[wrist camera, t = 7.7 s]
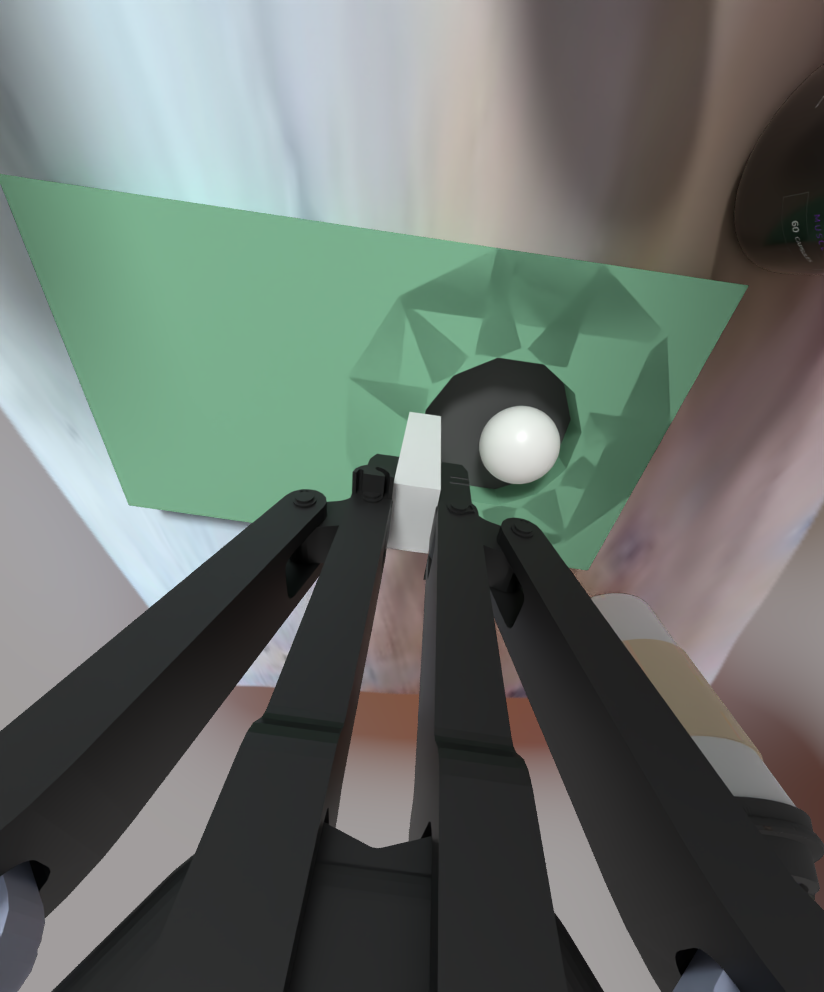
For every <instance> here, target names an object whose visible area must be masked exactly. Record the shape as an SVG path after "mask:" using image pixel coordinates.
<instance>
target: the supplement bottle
mask: <svg viewBox="0 0 824 992" xmlns="http://www.w3.org/2000/svg"><path fill="white" fill-rule="evenodd" d="M734 221H735V230H736V235H737V239H738V242H739V244H740V246H741V248H742V250H743V252H744V253H745V255H746V256H747V257H748V258H749V259H750V260H751V261H752V262H753V263H755V264H756V265H758V266H759V267H761V268H763V269H766V270H768V271H772V272H776V273H783V274H797V275H824V64H823V65H821V66H820V67H819V68H818V69H817V70H816V71H815V72H813V73H812V74H811V75H810V76H809V77H808V78H807V79H806V80H805V81H804V82H803V83H802V84H801V85H800V86H799V87H798V88H797V89H796V90H795V91H794V92H793V93H792V94H791V96H790V97H789V98H788V99H787V100H786V101H785V103H784V104H783V105H782V106H781V108H780V109H779V110H778V111H777V113H776V114H775V115H774V117H773V118H772V120H771V121H770V123H769V124H768V125H767V127H766V128H765V130H764V132H763V133H762V135H761V137H760V138H759V140H758V142H757V143H756V145H755V147H754V149H753V151H752V153H751V155H750V157H749V159H748V162H747V164H746V166H745V169H744V171H743V174H742V177H741V180H740V184H739V187H738V191H737V196H736V202H735V212H734Z"/></svg>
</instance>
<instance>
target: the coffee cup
mask: <svg viewBox="0 0 824 992" xmlns="http://www.w3.org/2000/svg"><path fill="white" fill-rule="evenodd" d="M591 599H592V601H593V602H594V604H595V605H596V606H597V608H598V609H599V611H600V612H601V613H602V615H603V616H604V617H605V619H606V620H607V622H608V623H609V624H610V626H611V627H612V628H613V630H614V631H615V633H616V634H617V635H618V637H619V638H620V640H621V641H622V642H623V644H624V645H625V646H626V648H627V649H628V651H629V652H630V653H631V655H632V656H633V657H634V659H635V660H636V662H637V663H638V664H639V666H640V667H641V669H642V670H643V671H644V673H645V674H646V675H647V677H648V678H649V680H650V681H651V682H652V684H653V685H654V686H655V688H656V689H657V691H658V692H659V693H660V695H661V696H662V698H663V699H664V700H665V702H666V703H667V704H668V706H669V707H670V709H671V710H672V711H673V713H674V714H675V715H676V717H677V718H678V720H679V721H680V722H681V724H682V725H683V727H684V728H685V729H686V731H687V732H688V733H689V735H690V736H691V738H692V739H693V740H694V742H695V743H696V744H697V746H698V747H699V749H700V750H701V751H702V753H703V754H704V755H705V757H706V758H707V760H708V761H709V762H710V764H711V765H712V767H713V768H714V769H715V771H716V772H717V773H718V775H719V776H720V778H721V779H722V780H723V782H724V783H725V784H726V786H727V787H728V789H729V790H730V791H731V793H732V794H733V796H734V797H735V798H736V800H737V801H738V802H739V804H740V805H741V807H742V808H743V809H744V811H745V812H746V813H747V815H748V816H749V818H750V819H751V820H752V822H753V823H754V825H755V826H756V827H757V829H758V830H759V831H760V833H761V834H762V836H763V837H764V838H765V840H766V841H767V842H768V844H769V845H770V847H771V848H772V849H773V851H774V852H775V854H776V855H777V856H778V858H779V859H780V860H781V862H782V863H783V865H784V866H785V867H786V869H787V870H788V871H789V873H790V874H791V876H792V877H793V878H794V880H795V881H796V882H797V883H798V884H799V885H800V886H801V887H802V888H803V889H804V890H805V891H806V892H807V894H808V895H809V896H810V897H811V898H812V899H813V900H815V893H817V892H818V891H819V889H820V888H819V883H818V879H817V874H816V870H815V865H814V863H815V862H816V861H818V860H819V859H820V858H821V857H822V856H823V855H824V844H823V842H822V841H821V839H820V838H819V837H818V836H817V835H816V834H815V833H814V832H813V829H812V824H811V819H810V817H809V816H808V815H807V814H806V813H805V812H804V811H802V810H801V809H798V808H797V807H796V806H795V805H794V804H793V802H792V801H791V800H790V798H789V797H788V795H787V794H786V793H785V791H784V790H783V789H782V788H781V786H780V785H779V783H778V782H777V780H776V779H775V778H774V776H773V775H772V774H771V772H770V771H769V770H768V768H767V767H766V765H765V764H764V763H763V758H762V756H761V754H760V752H759V751H758V750H757V748H756V747H755V745H754V744H753V743H752V741H751V740H750V739H749V737H748V736H747V735H746V733H745V732H744V731H743V729H742V728H741V727H740V725H739V724H738V723H737V721H736V720H735V719H734V717H733V716H732V715H731V713H730V712H729V711H728V709H727V708H726V706H725V705H724V704H723V702H722V701H721V700H720V698H719V697H718V696H717V694H716V693H715V692H714V690H713V689H712V688H711V686H710V685H709V684H708V682H707V681H706V680H705V678H704V677H703V675H702V674H701V673H700V671H699V670H698V669H697V667H696V666H695V665H694V663H693V662H692V661H691V659H690V658H689V657H688V655H687V654H686V653H685V652H684V651H683V650H682V649H681V648H680V647H679V646H678V645H677V644H676V642H675V641H674V640H673V638H672V637H671V636H670V634H669V633H668V631H667V630H666V629H665V627H664V626H663V625H662V623H661V622H660V621H659V619H658V618H657V616H656V615H655V614H654V612H653V611H652V610H651V608H650V607H649V606H648V604H647V603H646V602H645V601H643V600H642V599H640V598H638V597H636V596H633V595H629V594H622V593H610V594H603V595H598V596H594V597H591Z"/></svg>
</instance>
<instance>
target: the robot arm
mask: <svg viewBox="0 0 824 992" xmlns="http://www.w3.org/2000/svg"><path fill="white" fill-rule="evenodd" d="M386 548H391V549H398V550H405V551H412V552H419V553H426V554H428V551H429V555H428V559H427V564H426V569H425V574H424V580H426V584H425V602H424V621H423V639H422V657H421V675H420V693H419V712H418V731H417V749H416V766H415V785H414V798H413V805H412V813H411V820H410V829H409V842H405V843H400V844H396V845H392V846H388V847H383V848H372V847H370V846H368V845H366V844H364V843H362V842H360V841H359V840H357V839H355V838H353V837H351V836H349V835H347V834H345V833H344V832H342V831H340V830H338V829H336V828H335V827H336V822H337V815H338V809H339V803H340V796H341V789H342V783H343V778H344V772H345V767H346V762H347V756H348V751H349V746H350V740H351V736H352V730H353V725H354V719H355V715H356V709H357V704H358V699H359V693H360V688H361V683H362V678H363V673H364V667H365V662H366V657H367V652H368V646H369V641H370V636H371V631H372V626H373V620H374V615H375V610H376V605H377V599H378V594H379V589H380V584H381V578H382V573H383V568H384V563H385V557H386ZM318 577H319V578H318ZM317 578H318V580H317ZM316 580H317V583H316V586H315V588H314V591H313V593H312V596H311V598H310V601H309V603H308V606H307V608H306V611H305V613H304V616H303V618H302V621H301V623H300V626H299V629H298V631H297V634H296V636H295V639H294V641H293V644H292V646H291V649H290V651H289V654H288V656H287V659H286V661H285V664H284V666H283V669H282V671H281V674H280V677H279V679H278V682H277V684H276V687H275V689H274V692H273V695H272V697H271V699H270V702H269V704H268V707H267V709H266V711H265V713H264V714H263V716H262V717H261V718H260V719H258V720H257V721H255V722H254V723H253V724H252V725H251V727H250V728H249V730H248V732H247V733H246V735H245V737H244V739H243V742H242V743H241V746H240V748H239V751H238V752H237V755H236V758H235V760H234V762H233V764H232V767H231V769H230V771H229V774H228V776H227V779H226V781H225V783H224V786H223V788H222V791H221V793H220V795H219V798H218V800H217V802H216V805H215V807H214V810H213V812H212V814H211V817H210V819H209V821H208V824H207V826H206V829H205V831H204V833H203V836H202V838H201V841H200V843H199V845H198V848H197V850H196V853H195V854H194V855H193V856H191V857H190V858H189V859H188V860H187V861H185V862H184V863H183V864H182V865H181V866H179V867H178V868H177V869H176V870H174V871H173V872H172V873H171V874H170V875H169V876H168V877H167V878H166V879H165V880H164V881H163V882H162V883H161V884H160V885H159V886H158V887H157V888H156V889H155V890H154V891H153V892H152V893H151V894H150V895H149V896H148V897H147V898H146V899H145V900H144V901H143V902H142V903H141V904H140V905H139V906H138V907H137V908H136V909H135V910H133V912H131V914H129V915H128V917H127V918H125V919H124V921H122V922H121V923H120V924H119V925H118V926H117V927H116V928H115V929H114V930H113V931H112V932H111V933H110V934H109V935H108V936H107V937H106V938H105V939H104V940H103V941H102V942H101V943H100V944H99V945H98V946H97V947H96V948H95V949H94V950H93V951H92V952H91V953H90V954H89V955H88V956H87V957H86V958H85V959H84V960H83V961H82V962H81V963H80V964H79V965H78V966H77V967H76V968H75V969H74V970H73V971H72V972H71V973H70V974H69V975H68V976H67V977H66V978H65V979H64V980H63V981H62V982H61V983H60V984H59V985H58V986H57V987H56V988H55V989H53V991H52V992H604V991H603V989H602V988H601V986H600V984H599V983H598V981H597V980H596V978H595V976H594V975H593V973H592V971H591V970H590V968H589V966H588V965H587V963H586V961H585V960H584V958H583V956H582V955H581V953H580V951H579V950H578V948H577V946H576V945H575V943H574V941H573V940H572V938H571V936H570V935H569V933H568V932H567V930H566V928H565V927H564V925H563V924H562V922H561V921H560V919H559V918H558V917H557V916H556V914H555V913H554V910H553V904H552V899H551V892H550V887H549V881H548V875H547V869H546V863H545V858H544V852H543V847H542V841H541V834H540V829H539V823H538V817H537V811H536V806H535V800H534V794H533V788H532V784H531V779H530V776H529V771H528V768H527V766H526V764H525V761H524V759H523V758H522V757H521V756H520V755H518V754H517V753H516V751H515V749H514V747H513V742H512V738H511V731H510V724H509V718H508V711H507V704H506V697H505V690H504V683H503V676H502V670H501V663H500V656H499V649H498V642H497V636H496V629H495V622H494V618H495V621H496V623H497V625H498V628H499V630H500V633H501V635H502V637H503V640H504V642H505V645H506V647H507V649H508V652H509V654H510V656H511V659H512V661H513V664H514V666H515V668H516V671H517V673H518V676H519V678H520V680H521V683H522V685H523V687H524V690H525V692H526V695H527V697H528V699H529V702H530V704H531V706H532V709H533V711H534V713H535V716H536V718H537V721H538V723H539V725H540V728H541V730H542V732H543V735H544V737H545V740H546V742H547V745H548V747H549V749H550V752H551V754H552V756H553V759H554V761H555V764H556V766H557V768H558V770H559V773H560V775H561V778H562V780H563V783H564V785H565V787H566V790H567V792H568V795H569V797H570V799H571V801H572V804H573V806H574V809H575V811H576V814H577V816H578V818H579V821H580V823H581V826H582V828H583V830H584V833H585V835H586V837H587V839H588V842H589V844H590V847H591V849H592V852H593V854H594V856H595V859H596V861H597V864H598V866H599V868H600V871H601V873H602V876H603V878H604V880H605V883H606V885H607V887H608V889H609V892H610V894H611V896H612V898H613V900H614V902H615V905H616V907H617V909H618V911H619V913H620V916H621V918H622V920H623V922H624V924H625V926H626V929H627V930H628V932H629V934H630V936H631V938H632V940H633V942H634V944H635V946H636V947H637V949H638V951H639V953H640V954H641V957H642V959H643V961H644V962H645V964H646V966H647V968H648V970H649V972H650V973H651V975H652V977H653V979H654V980H655V982H656V984H657V985H658V987H659V989H660V990H661V992H824V910H823V909H822V908H821V907H820V906H819V905H818V904H817V903H816V902H815V901H814V900H813V899H812V898H811V897H810V896H809V895H808V894H807V892H806V891H805V890H804V889H803V888H802V887H801V886H800V885H799V884H798V883H797V882H796V881H795V880H794V878H793V877H792V876H791V874H790V873H789V871H788V870H787V869H786V867H785V866H784V865H783V863H782V862H781V860H780V859H779V858H778V856H777V855H776V854H775V852H774V851H773V849H772V848H771V847H770V845H769V844H768V842H767V841H766V840H765V838H764V837H763V836H762V834H761V833H760V831H759V830H758V829H757V827H756V826H755V825H754V823H753V822H752V820H751V819H750V818H749V816H748V815H747V813H746V812H745V811H744V809H743V808H742V807H741V805H740V804H739V802H738V801H737V800H736V798H735V797H734V796H733V794H732V793H731V791H730V790H729V789H728V787H727V786H726V784H725V783H724V782H723V780H722V779H721V778H720V776H719V775H718V773H717V772H716V771H715V769H714V768H713V767H712V765H711V764H710V762H709V761H708V760H707V758H706V757H705V755H704V754H703V753H702V751H701V750H700V749H699V747H698V746H697V744H696V743H695V742H694V740H693V739H692V738H691V736H690V735H689V733H688V732H687V731H686V729H685V728H684V727H683V725H682V724H681V722H680V721H679V720H678V718H677V717H676V715H675V714H674V713H673V711H672V710H671V709H670V707H669V706H668V704H667V703H666V702H665V700H664V699H663V698H662V696H661V695H660V693H659V692H658V691H657V689H656V688H655V686H654V685H653V684H652V682H651V681H650V680H649V678H648V677H647V675H646V674H645V673H644V671H643V670H642V669H641V667H640V666H639V664H638V663H637V662H636V660H635V659H634V657H633V656H632V655H631V653H630V652H629V651H628V649H627V648H626V646H625V645H624V644H623V642H622V641H621V640H620V638H619V637H618V635H617V634H616V633H615V631H614V630H613V628H612V627H611V626H610V624H609V623H608V622H607V620H606V619H605V617H604V616H603V615H602V613H601V612H600V611H599V609H598V608H597V606H596V605H595V604H594V602H593V601H592V599H591V598H590V597H589V595H588V594H587V593H586V591H585V590H584V588H583V587H582V586H581V584H580V583H579V582H578V580H577V579H576V577H575V576H574V575H573V573H572V572H571V570H570V569H569V568H568V566H567V565H566V564H565V562H564V561H563V559H562V558H561V557H560V555H559V554H558V553H557V551H556V550H555V548H554V547H553V546H552V544H551V543H550V541H549V540H548V539H547V537H546V536H545V535H544V533H543V532H542V530H541V529H540V528H539V527H538V526H537V525H535V524H533V523H532V522H530V521H528V520H525V519H522V518H514V517H513V518H507V519H505V520H504V521H502V524H501V526H500V525H498V524H495V523H492V522H489V521H487V520H485V519H483V518H482V517H480V516H479V513H478V510H477V508H476V506H475V505H473V504H472V500H471V492H470V486H469V477H468V471H467V470H466V469H465V468H464V467H463V465H459V464H452V463H446V462H441V416H436V415H429V414H422V413H415V412H409V417H408V421H407V426H406V430H405V434H404V439H403V443H402V448H401V452H400V457H397V456H391V455H384V454H376V455H374V456H373V457H372V458H370V460H369V462H368V465H363V466H360V467H357V468H356V469H355V470H354V471H353V472H352V494H351V497H350V498H348V499H345V500H341V501H329V502H327V501H326V497H325V496H324V494H323V493H321V492H319V491H316V490H311V489H300V490H296V491H292V492H290V493H289V494H287V495H286V496H284V497H283V498H282V499H281V500H279V501H278V502H277V503H276V504H275V505H273V506H272V507H271V508H270V509H269V510H267V511H266V512H265V513H264V514H263V515H261V516H260V517H259V518H258V519H256V520H255V521H254V522H253V523H252V524H250V525H249V526H248V527H247V528H246V529H244V530H243V531H242V532H241V533H240V534H238V535H237V536H236V537H235V538H234V539H232V540H231V541H230V542H229V543H227V544H226V545H225V546H224V547H223V548H221V549H220V550H219V551H218V552H217V553H215V554H214V555H213V556H212V557H211V558H209V559H208V560H207V561H206V562H204V563H203V564H202V565H201V566H200V567H198V568H197V569H196V570H195V571H194V572H192V573H191V574H190V575H189V576H188V577H186V578H185V579H184V580H183V581H182V582H180V583H179V584H178V585H177V586H175V587H174V588H173V589H172V590H171V591H169V592H168V593H167V594H166V595H165V596H163V597H162V598H161V599H160V600H159V601H157V602H156V603H155V604H154V605H152V606H151V607H150V608H149V609H148V610H147V611H145V612H144V613H143V614H142V615H140V616H139V617H138V618H137V619H136V620H134V621H133V622H132V623H131V624H130V625H128V626H127V627H126V628H125V629H123V630H122V631H121V632H120V633H119V634H117V635H116V636H115V637H114V638H113V639H111V640H110V641H109V642H108V643H107V644H105V645H104V646H103V647H102V648H100V649H99V650H98V651H97V652H96V653H94V654H93V655H92V656H91V657H90V658H88V659H87V660H86V661H85V662H84V663H82V664H81V665H80V666H79V667H77V668H76V669H75V670H74V671H73V672H71V673H70V674H69V675H68V676H67V677H65V678H64V679H63V680H62V681H61V682H59V683H58V684H57V685H56V686H55V687H53V688H52V689H51V690H50V691H48V692H47V693H46V694H45V695H44V696H42V697H41V698H40V699H39V700H38V701H36V702H35V703H34V704H33V705H32V706H30V707H29V708H28V709H27V710H25V712H23V713H22V714H21V715H19V716H18V717H17V718H16V719H15V720H13V721H12V722H11V723H10V724H9V725H7V726H6V727H5V728H4V729H3V730H1V731H0V992H17V991H18V990H19V989H20V988H21V986H22V985H23V983H24V981H25V980H26V978H27V977H28V976H29V974H30V972H31V971H32V968H33V965H34V963H35V960H36V957H37V950H38V948H39V945H40V943H41V939H42V934H43V929H44V924H45V918H46V917H47V916H48V915H49V914H50V913H51V912H52V911H53V910H54V909H55V908H56V907H57V906H58V905H59V904H60V903H61V902H62V901H63V900H64V899H66V897H67V896H68V895H69V894H70V893H71V892H72V891H73V890H74V889H75V887H77V886H78V884H79V883H80V882H81V881H82V880H83V879H84V878H85V877H86V876H87V875H88V874H89V873H90V871H91V870H92V869H93V868H94V867H95V866H96V865H97V864H98V863H99V862H100V861H101V859H102V858H103V857H104V856H105V855H106V853H107V852H108V851H109V850H110V849H111V847H112V846H113V845H114V844H115V842H116V841H117V840H118V839H119V838H120V836H121V835H122V834H123V833H124V831H125V830H126V829H127V827H129V825H130V824H131V823H132V822H133V820H134V819H135V818H136V816H137V815H138V814H139V812H140V811H141V810H142V808H143V807H144V806H145V805H146V803H147V802H148V800H149V799H150V798H151V797H152V795H153V794H154V793H155V791H156V790H157V788H158V787H159V786H160V785H161V783H162V782H163V781H164V780H165V778H166V777H167V776H168V774H169V773H170V772H171V770H172V769H173V768H174V766H175V765H176V764H177V762H178V761H179V760H180V758H181V757H182V756H183V754H184V753H185V752H186V751H187V749H188V748H189V747H190V745H191V744H192V743H193V741H194V740H195V739H196V737H197V736H198V735H199V733H200V732H201V731H202V730H203V728H204V727H205V725H206V724H207V723H208V722H209V720H210V719H211V718H212V716H213V715H214V714H215V712H216V711H217V710H218V708H219V707H220V706H221V705H222V703H223V702H224V700H225V699H226V698H227V697H228V695H229V694H230V693H231V691H232V690H233V689H234V687H235V686H236V685H237V683H238V682H239V681H240V680H241V678H242V677H243V676H244V674H245V673H246V672H247V670H248V669H249V668H250V666H251V665H252V664H253V662H254V661H255V660H256V658H257V657H258V656H259V655H260V653H261V652H262V651H263V649H264V648H265V647H266V645H267V644H268V643H269V641H270V640H271V639H272V637H273V636H274V635H275V633H276V632H277V631H278V630H279V628H280V627H281V626H282V624H283V623H284V622H285V620H286V619H287V618H288V616H289V615H290V614H291V612H292V611H293V610H294V608H295V607H296V606H297V605H298V603H299V602H300V601H301V599H302V598H303V597H304V595H305V594H306V593H307V591H308V590H309V589H310V587H311V586H312V585H313V583H314V582H315V581H316Z"/></svg>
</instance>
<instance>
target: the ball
mask: <svg viewBox="0 0 824 992" xmlns="http://www.w3.org/2000/svg"><path fill="white" fill-rule="evenodd" d="M559 451H560V436H559V432H558V429H557V427H556V425H555V423H554V422H553V421H552V420H551V418H550V417H549V416H548V415H546V414H545V413H544V412H542V411H540V410H538V409H536V408H533V407H529V406H514V407H510V408H507V409H504V410H502V411H500V412H499V413H497V414H496V415H494V416H493V417H492V418H491V419H490V420H489V421H488V423H487V424H486V425H485V427H484V429H483V431H482V434H481V437H480V442H479V452H480V456H481V460H482V462H483V464H484V466H485V467H486V469H487V470H488V471H489V472H490V473H491V474H492V475H493V476H494V477H496V478H497V479H499V480H501V481H504V482H507V483H511V484H525V483H529V482H533V481H535V480H537V479H539V478H541V477H542V476H544V475H545V474H546V473H547V472H548V471H549V470H550V469H551V468H552V467H553V465H554V464H555V462H556V460H557V458H558V455H559Z"/></svg>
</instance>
